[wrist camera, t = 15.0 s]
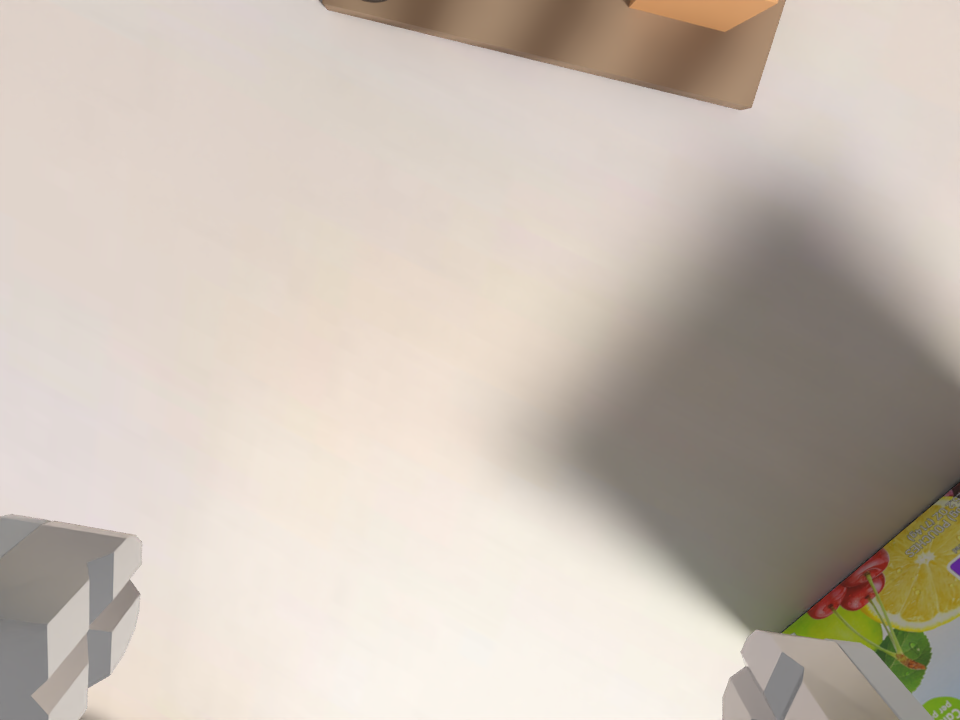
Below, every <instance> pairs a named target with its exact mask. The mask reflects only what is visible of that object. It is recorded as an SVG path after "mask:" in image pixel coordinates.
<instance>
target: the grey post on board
mask: <svg viewBox="0 0 960 720" xmlns="http://www.w3.org/2000/svg"><path fill="white" fill-rule="evenodd" d="M785 1H786V0H778V3H777V4H776V5H774V6H772V7H770V8H768V9H767V10H765V11H763V12H761V13H759V14H757V15H756V16H754V17H752V18H750V19H748V20H746V21H744V22H743V23H741V24H739V25H737V26H735V27H733V28H731V29H730V30H728V31H726V32H723V31H719V30H715V29H711V28H707V27H703V26H699V25H695V24H691V23H688V22H684V21H680V20H676V19H672V18H668V17H664V16H660V15H656V14H652V13H648V12H645V11H641V10H637V9H633V8H629V4H630V0H322V3H323V5H324V6H325V7H326V9H327V10H330V11H334V12H339V13H343V14H347V15H351V16H355V17H359V18H363V19H367V20H371V21H376V22H380V23H384V24H388V25H392V26H396V27H400V28H404V29H409V30H413V31H417V32H421V33H425V34H429V35H433V36H437V37H442V38H446V39H450V40H454V41H458V42H462V43H466V44H470V45H474V46H479V47H483V48H487V49H491V50H495V51H499V52H503V53H507V54H512V55H516V56H520V57H524V58H528V59H532V60H536V61H540V62H544V63H549V64H553V65H557V66H561V67H565V68H569V69H573V70H577V71H582V72H586V73H590V74H594V75H598V76H602V77H606V78H610V79H614V80H619V81H623V82H627V83H631V84H635V85H639V86H643V87H647V88H652V89H656V90H660V91H664V92H668V93H672V94H676V95H680V96H684V97H689V98H693V99H697V100H701V101H705V102H709V103H713V104H717V105H722V106H726V107H730V108H734V109H738V110H743V109H748V108H751V107H752V104H753V101H754V98H755V95H756V92H757V89H758V86H759V82H760V79H761V76H762V73H763V70H764V67H765V64H766V61H767V57H768V54H769V51H770V48H771V45H772V42H773V39H774V36H775V32H776V29H777V26H778V23H779V20H780V17H781V14H782V11H783V7H784V4H785Z"/></svg>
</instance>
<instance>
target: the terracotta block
mask: <svg viewBox="0 0 960 720" xmlns="http://www.w3.org/2000/svg"><path fill="white" fill-rule="evenodd" d="M777 3H778V0H630V4H629V8H633V9H637V10H641V11H645V12H648V13H652V14H656V15H660V16H664V17H668V18H672V19H676V20H680V21H684V22H688V23H691V24H695V25H699V26H703V27H707V28H711V29H715V30H719V31H723V32H726V31H728V30H730V29H731V28H733V27H735V26H737V25H739V24H741V23H743V22H744V21H746V20H748V19H750V18H752V17H754V16H756V15H757V14H759V13H761V12H763V11H765V10H767V9H768V8H770V7H772V6H774V5H776V4H777Z"/></svg>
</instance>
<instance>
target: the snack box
mask: <svg viewBox="0 0 960 720" xmlns="http://www.w3.org/2000/svg"><path fill="white" fill-rule="evenodd" d="M782 633H783V634H790V635H797V636H804V637H811V638H817V639H834V640H842V641H850V642H858V643H862V644H863V645H865V646H867V647H868V648H870V649H872V650H873V651H874V652H875V653H876V654H877V655H878V656H879V657H880V658H881V660H882V661H883V662H884V663H885V664H886V665H887V666H888V668H889V669H890V670H891V671H892V672H893V673H894V674H895V675H896V677H897V678H898V679H899V680H900V681H901V682H902V683H903V685H904V686H905V687H906V688H907V689H908V690H909V691H910V692H911V694H912V695H913V696H914V697H915V698H916V699H917V700H918V702H919V703H920V704H921V705H922V706H923V707H924V708H925V709H926V711H927V712H928V713H929V714H930V715H931V716H932V717H933V719H934V720H960V482H959V483H958V484H957V485H956V486H955V487H953V488H952V489H951V490H950V491H949V492H948V493H946V494H945V495H944V496H943V497H942V498H941V499H939V500H938V501H937V502H936V503H935V504H934V505H932V506H931V507H930V508H929V509H928V510H926V511H925V512H924V513H923V514H922V515H920V516H919V517H918V518H917V519H916V520H915V521H913V522H912V523H911V524H910V525H909V526H908V527H906V528H905V529H904V530H903V531H902V532H900V533H899V534H898V535H897V536H896V537H895V538H893V539H892V540H891V541H890V542H889V543H888V544H886V545H885V546H884V547H883V548H882V549H881V550H879V551H878V552H877V553H876V554H875V555H873V556H872V557H871V558H870V559H869V560H868V561H866V562H865V563H864V564H863V565H862V566H860V567H859V568H858V569H857V570H856V571H854V572H853V573H852V574H851V575H850V576H849V577H847V578H846V579H845V580H844V581H843V582H841V583H840V584H839V585H838V586H837V587H835V588H834V589H833V590H832V591H831V592H830V593H828V594H827V595H826V596H825V597H824V598H822V599H821V600H820V601H819V602H818V603H817V604H815V605H814V606H813V607H812V608H811V609H810V610H808V611H807V612H806V613H805V614H804V615H802V616H801V617H800V618H799V619H798V620H796V621H795V622H794V623H793V624H792V625H790V626H789V627H788V628H787V629H786V630H784V631H783V632H782Z"/></svg>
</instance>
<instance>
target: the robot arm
mask: <svg viewBox="0 0 960 720" xmlns="http://www.w3.org/2000/svg"><path fill="white" fill-rule="evenodd" d="M141 564H142V541H141V540H140V539H139V538H138V537H137V536H136V535H133V534H127V533H122V532H116V531H110V530H104V529H99V528H93V527H87V526H81V525H76V524H70V523H64V522H58V521H49V520H45V519H38V518H32V517H26V516H20V515H14V514H10V515H5V516H0V720H79V719H80V718H81V717H82V715H83V714H84V712H85V711H86V709H87V702H88V688H89V687H91V686H92V685H94V684H96V683H98V682H99V681H101V680H103V679H105V678H106V677H108V676H110V675H111V673H112V672H113V670H114V669H115V667H116V666H117V664H118V663H119V661H120V660H121V658H122V657H123V655H124V653H125V651H126V649H127V647H128V644H129V642H130V640H131V637H132V635H133V633H134V631H135V627H136V623H137V618H138V614H139V607H140V593H139V591H138V590H137V589H136V587H135V586H134V584H133V583H132V582H131V580H130V578H131V577H132V576H133V574H134V573H135V572H136V571H137V569H138V568H139V567H140V566H141ZM741 655H742V658H743V660H744V663H745V667H744V668H743V669H741V670H740V671H739V672H737V673H736V674H734V675H733V676H732V677H730V679H729V681H728V684H727V687H726V690H725V692H724V695H723V715H722V720H934V719H933V717H932V716H931V715H930V714H929V713H928V712H927V711H926V709H925V708H924V707H923V706H922V705H921V704H920V703H919V702H918V700H917V699H916V698H915V697H914V696H913V695H912V694H911V692H910V691H909V690H908V689H907V688H906V687H905V686H904V685H903V683H902V682H901V681H900V680H899V679H898V678H897V677H896V675H895V674H894V673H893V672H892V671H891V670H890V669H889V668H888V666H887V665H886V664H885V663H884V662H883V661H882V660H881V658H880V657H879V656H878V655H877V654H876V653H875V652H874V651H873V650H872V649H870V648H868V647H867V646H865V645H863V644H862V643H858V642H850V641H842V640H834V639H817V638H811V637H804V636H797V635H790V634H783V633H776V632H769V631H763V630H755V631H754V632H753V633H752V634H750V635H749V636H748V637H747V639H746V641H745V643H744V646H743V648H742V650H741Z"/></svg>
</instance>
